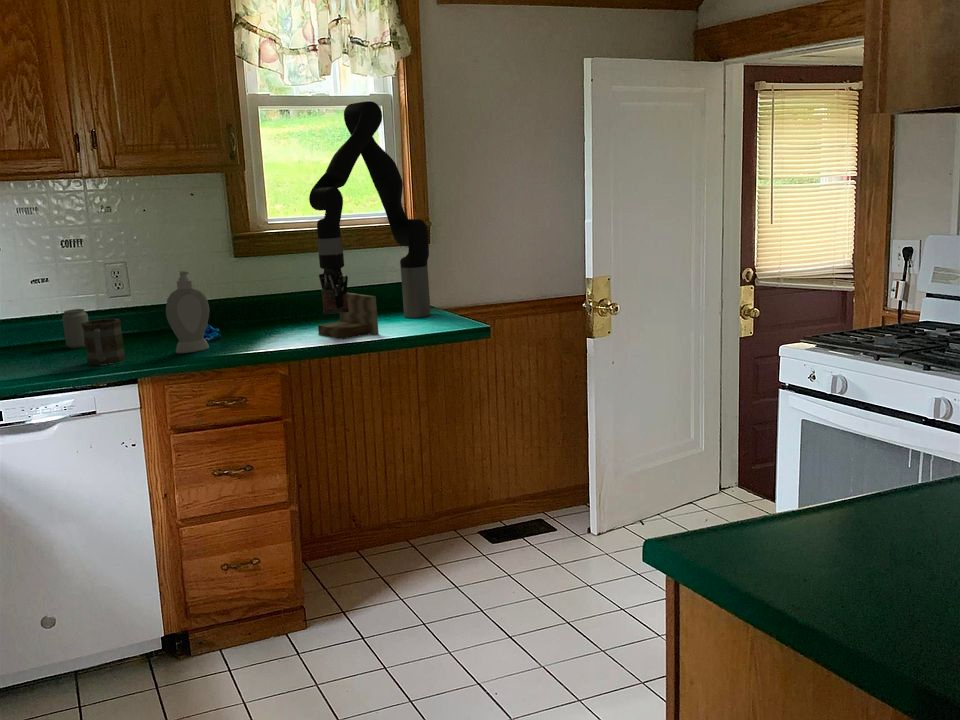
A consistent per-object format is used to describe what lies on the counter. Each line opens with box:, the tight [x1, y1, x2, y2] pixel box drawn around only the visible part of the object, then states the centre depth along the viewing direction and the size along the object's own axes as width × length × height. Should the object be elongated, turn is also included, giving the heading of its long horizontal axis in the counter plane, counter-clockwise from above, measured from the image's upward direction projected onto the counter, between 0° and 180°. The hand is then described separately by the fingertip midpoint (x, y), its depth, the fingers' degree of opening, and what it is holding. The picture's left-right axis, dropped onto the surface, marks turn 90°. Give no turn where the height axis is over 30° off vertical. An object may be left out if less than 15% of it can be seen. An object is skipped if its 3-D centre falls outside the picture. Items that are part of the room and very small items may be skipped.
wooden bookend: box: [317, 292, 380, 340], centre depth 295 cm, size 20×12×12 cm, turn 40°
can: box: [61, 308, 89, 350], centre depth 298 cm, size 8×8×12 cm
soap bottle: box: [165, 269, 210, 354], centre depth 278 cm, size 13×8×24 cm, turn 123°
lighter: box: [320, 282, 349, 315], centre depth 292 cm, size 8×3×10 cm, turn 103°
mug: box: [81, 318, 127, 366], centre depth 268 cm, size 16×11×12 cm
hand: (335, 306), depth 292 cm, fingers closed on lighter, 4 cm apart
